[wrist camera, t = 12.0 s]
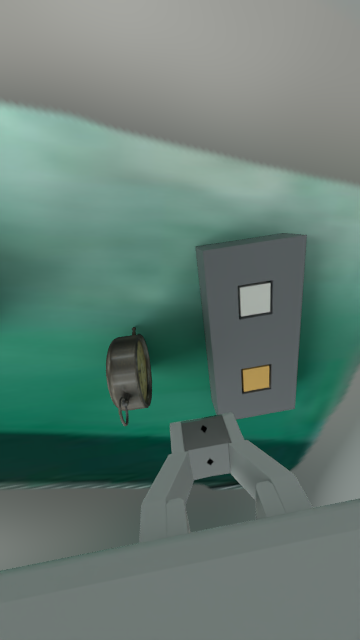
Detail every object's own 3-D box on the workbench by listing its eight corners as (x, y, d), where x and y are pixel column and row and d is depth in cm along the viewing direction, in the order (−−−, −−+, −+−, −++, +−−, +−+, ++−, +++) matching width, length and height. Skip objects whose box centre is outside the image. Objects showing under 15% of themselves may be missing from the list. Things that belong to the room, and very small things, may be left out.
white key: (234, 309, 38) (241, 316, 35) (233, 282, 36) (240, 287, 33) (261, 305, 38) (270, 311, 35) (261, 278, 36) (270, 283, 34)
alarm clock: (153, 373, 44) (153, 450, 29) (125, 378, 44) (109, 458, 29) (142, 320, 40) (135, 378, 25) (110, 325, 40) (84, 386, 25)
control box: (211, 399, 48) (219, 422, 42) (195, 246, 36) (202, 250, 31) (278, 387, 49) (294, 408, 43) (283, 233, 37) (306, 234, 31)
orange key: (238, 380, 43) (244, 391, 40) (237, 360, 42) (243, 370, 39) (261, 376, 43) (269, 387, 41) (261, 356, 42) (269, 365, 39)
